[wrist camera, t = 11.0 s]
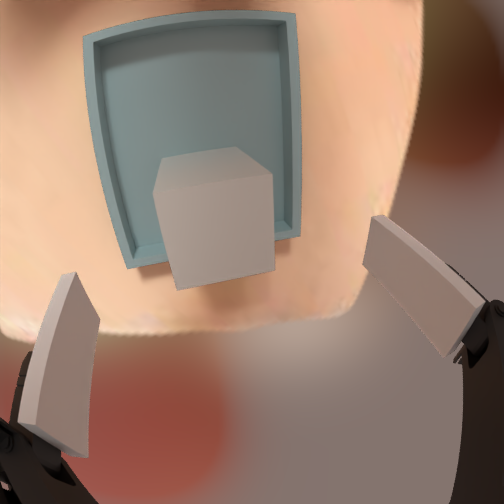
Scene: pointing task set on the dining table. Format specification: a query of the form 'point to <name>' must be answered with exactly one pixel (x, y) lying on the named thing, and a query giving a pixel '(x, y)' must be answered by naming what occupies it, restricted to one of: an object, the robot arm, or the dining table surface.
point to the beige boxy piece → (215, 216)
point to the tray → (192, 110)
